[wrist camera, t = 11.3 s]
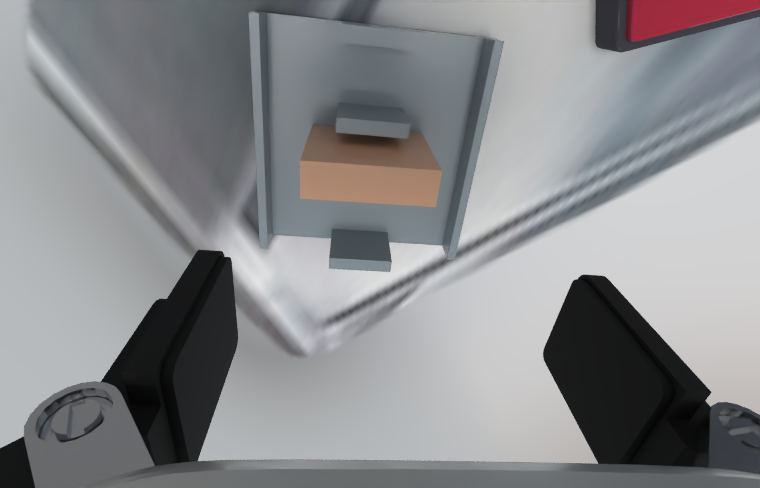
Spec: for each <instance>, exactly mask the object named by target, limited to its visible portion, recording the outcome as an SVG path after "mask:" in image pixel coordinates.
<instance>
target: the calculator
mask: <svg viewBox="0 0 760 488" xmlns="http://www.w3.org/2000/svg"><path fill="white" fill-rule="evenodd" d="M756 17H760V0H596V45H597V47H599V48H602V49H607V50H612V51H617V52H625V51H629V50H633V49H637V48H641V47H645V46H648V45H652V44H656V43H660V42H664V41H668V40H671V39H675V38H679V37H683V36H687V35H691V34H694V33H698V32H702V31H706V30H710V29H714V28H718V27H721V26H725V25H729V24H733V23H737V22H741V21H744V20H748V19H752V18H756Z"/></svg>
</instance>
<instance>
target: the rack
mask: <svg viewBox="0 0 760 488" xmlns="http://www.w3.org/2000/svg"><path fill="white" fill-rule="evenodd" d="M249 31H250V52H251V72H252V93H253V113H254V134H255V154H256V175H257V195H258V216H259V236H260V248H264V249H268V246H269V244H270V241H271V238H272V235H286V236H302V237H318V238H331V248H330V257H329V268H330V269H348V270H365V271H383V272H390V270H391V263H392V261H391V254H390V247H389V242H397V243H413V244H428V245H442V246H443V249H444V251H445V254H446V257H447V260H454V259H455V255H456V250H457V246H458V242H459V237H460V233H461V228H462V224H463V220H464V215H465V211H466V206H467V202H468V198H469V193H470V189H471V184H472V180H473V176H474V171H475V167H476V162H477V158H478V154H479V149H480V145H481V140H482V136H483V131H484V127H485V123H486V118H487V114H488V109H489V105H490V101H491V96H492V92H493V87H494V83H495V79H496V74H497V70H498V65H499V61H500V57H501V52H502V48H503V43H504V41H500V40H497V39H493V38H485V37H476V36H467V35H459V34H450V33H441V32H433V31H424V30H415V29H407V28H398V27H389V26H381V25H372V24H363V23H355V22H346V21H337V20H328V19H320V18H311V17H302V16H294V15H285V14H276V13H268V12H259V11H252V12H249ZM313 125H321V126H333V127H336V133H347V134H358V135H370V136H381V137H392V138H403V139H409V133H421V134H423V136H424V138H425V140H426V142H427V143H428V145H429V147H430V149H431V151H432V153H433V154H434V156H435V158H436V160H437V162H438V164H439V166H440V167H441V169H442V175H441V181H440V187H439V192H438V198H437V204H436V207H425V206H409V205H393V204H377V203H361V202H346V201H330V200H314V199H300V159H301V156H302V153H303V151H304V148H305V145H306V142H307V140H308V137H309V134H310V131H311V128H312V126H313Z"/></svg>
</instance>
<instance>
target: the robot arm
mask: <svg viewBox="0 0 760 488" xmlns="http://www.w3.org/2000/svg"><path fill="white" fill-rule="evenodd" d="M237 342H238V330H237V319H236V307H235V296H234V284H233V273H232V262H231V258H230V257H224V254H223V252H222V251H209V250H198V251H197V252H196V254H195V256H194V257H193V259H192V260H191V262H190V263H189V265H188V267H187V268H186V270H185V271H184V273H183V274H182V276H181V278H180V279H179V281H178V282H177V284H176V285H175V287H174V288H173V290H172V292H171V293H170V295H169V296H168V298H167V299H159V300H157V301H156V302H155V303H154V304H153V305H152V307H151V308H150V310H149V311H148V313H147V314H146V316H145V317H144V319H143V320H142V322H141V323H140V324H139V326H138V328H137V329H136V331H135V332H134V334H133V335H132V337H131V338H130V339H129V341H128V342H127V344H126V345H125V347H124V348H123V350H122V351H121V353H120V354H119V356H118V357H117V359H116V360H115V362H114V363H113V365H112V366H111V368H110V370H108V372H107V373H106V375H105V376H104V378H103V379H102V381H101V382H87V383H80V384H77V385H74V386H71V387H67V388H65V389H63V390H61V391H59V392H57V393H55V394H53V395H52V396H50V397H49V398H48V399H46V400H45V401H43V402H42V403H41V404H40V405H39V406H38V407H37V408H36V409H35V410H34V411H33V412H32V414H31V415H30V416H29V418H28V420H27V422H26V424H25V426H24V437H22V438H20V439H18V440H16V441H14V442H12V443H10V444H8V445H6V446H4V447H2V448H0V488H760V415H759V414H757V413H755V412H753V411H751V410H750V409H748V408H745V407H742V406H740V405H737V404H733V403H728V402H720V403H719V402H718V403H716V404H714V405H713V406H712V407H710V406H709V405H708V404H707V403H706V401H705V400H706V399H707V397H708V396H709V395H710V393H711V391H710V390H709V389H708V388H707V387H706V386H705V385H704V384H703V383H702V381H701V380H700V379H699V378H698V377H697V376H696V375H695V374H694V373H693V372H692V370H691V369H690V368H689V367H688V366H687V365H686V364H685V363H684V362H683V361H682V360H681V359H680V357H679V356H678V355H677V354H676V353H675V352H674V351H673V350H672V349H671V348H670V346H669V345H668V344H667V343H666V342H665V341H664V340H663V339H662V338H661V337H660V335H659V334H658V333H657V332H656V331H655V330H654V329H653V328H652V327H651V326H650V325H649V323H648V322H646V320H645V319H644V318H643V317H642V316H641V315H640V314H639V313H638V311H637V310H636V309H635V308H634V307H633V306H632V305H631V304H630V303H629V302H628V300H627V299H626V298H625V297H624V296H623V295H622V294H621V293H620V292H619V291H618V290H617V289H616V287H614V285H613V284H612V283H611V282H610V281H609V280H608V279H607V278H606V277H605V276H597V275H582V276H580V277H579V278H578V279H577V280H574V281H573V283H572V284H571V287H570V289H569V292H568V294H567V296H566V298H565V301H564V303H563V305H562V308H561V310H560V312H559V315H558V317H557V319H556V322H555V325H554V326H553V329H552V331H551V334H550V336H549V339H548V341H547V343H546V345H545V348H544V352H543V357H544V361H545V363H546V365H547V367H548V369H549V371H550V373H551V374H552V376H553V378H554V380H555V382H556V384H557V386H558V388H559V390H560V391H561V393H562V395H563V397H564V399H565V401H566V403H567V405H568V407H569V409H570V410H571V412H572V414H573V416H574V418H575V420H576V422H577V424H578V426H579V428H580V429H581V431H582V433H583V435H584V437H585V439H586V441H587V443H588V445H589V446H590V448H591V450H592V452H593V454H594V456H595V458H596V460H597V462H598V464H582V463H580V464H579V463H533V462H474V461H472V462H471V461H404V460H403V461H402V460H401V461H400V460H397V461H396V460H303V459H299V460H298V459H297V460H216V461H198V458H199V455H200V452H201V449H202V446H203V443H204V440H205V438H206V435H207V432H208V429H209V426H210V423H211V420H212V417H213V414H214V411H215V409H216V406H217V403H218V400H219V397H220V394H221V391H222V388H223V385H224V383H225V379H226V377H227V374H228V371H229V368H230V365H231V362H232V359H233V357H234V354H235V351H236V347H237Z"/></svg>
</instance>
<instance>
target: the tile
mask: <svg viewBox="0 0 760 488" xmlns="http://www.w3.org/2000/svg"><path fill="white" fill-rule="evenodd" d="M441 175H442V169H441V167H440V166H439V164H438V162H437V160H436V158H435V156H434V154H433V153H432V151H431V149H430V147H429V145H428V143H427V142H426V140H425V138H424V136H423V134H421V133H409V139H403V138H392V137H381V136H370V135H358V134H347V133H336V127H333V126H321V125H313V126H312V128H311V131H310V134H309V137H308V140H307V142H306V145H305V148H304V151H303V153H302V156H301V159H300V199H314V200H330V201H346V202H361V203H377V204H393V205H409V206H425V207H436V204H437V198H438V192H439V187H440V181H441Z"/></svg>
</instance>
